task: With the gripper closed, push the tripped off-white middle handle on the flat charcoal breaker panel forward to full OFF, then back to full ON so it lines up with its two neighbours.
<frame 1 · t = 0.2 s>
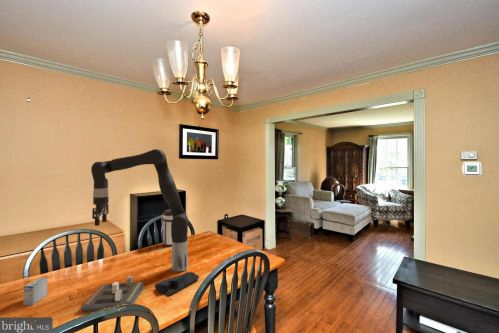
hand: (100, 223, 132), 29 cm above the table, tool pointing down, fingers open, 8 cm apart
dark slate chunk: (177, 284, 122), on the table
tripped handle: (115, 287, 107), point 5 cm above the table, slide at 0.0 cm
coffee press: (173, 244, 182), on the table
medicine box: (35, 300, 106), on the table
breaker panel: (115, 298, 108), on the table
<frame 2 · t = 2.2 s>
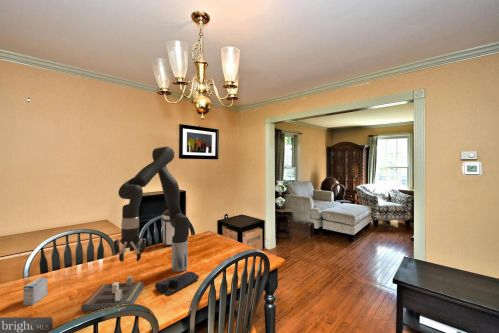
hand: (130, 260, 108), 18 cm above the table, tool pointing down, fingers open, 6 cm apart
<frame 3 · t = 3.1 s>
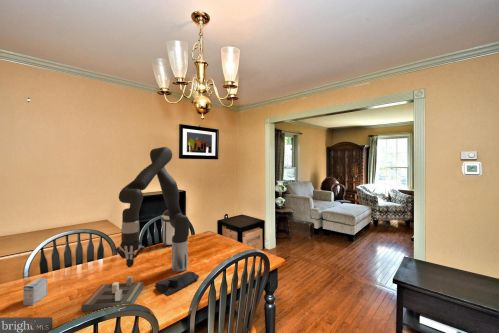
hand: (129, 266, 108), 15 cm above the table, tool pointing down, fingers closed
nothing on the table moved.
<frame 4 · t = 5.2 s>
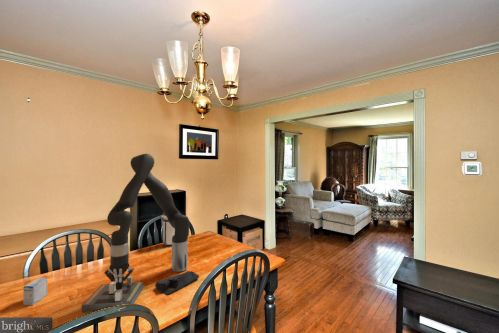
hand: (119, 289, 108), 5 cm above the table, tool pointing down, fingers closed
tripped handle: (112, 287, 107), point 5 cm above the table, slide at 1.4 cm, touching gripper
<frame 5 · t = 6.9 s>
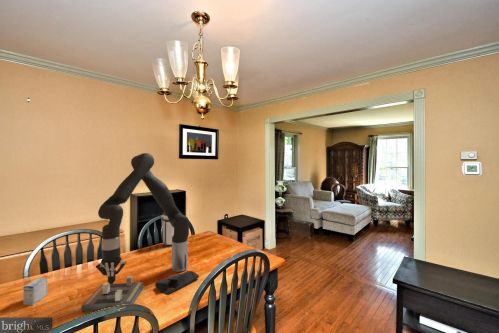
hand: (111, 283, 107), 8 cm above the table, tool pointing down, fingers closed
tripped handle: (106, 288, 107), point 5 cm above the table, slide at 4.1 cm
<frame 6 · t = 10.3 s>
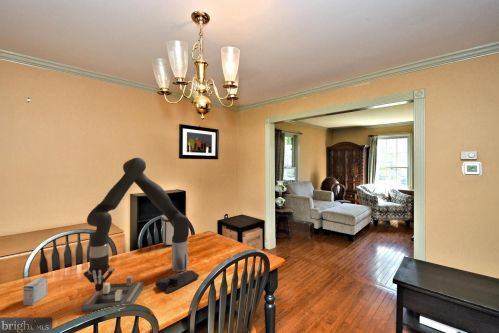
hand: (99, 290, 107), 4 cm above the table, tool pointing down, fingers closed
tripped handle: (106, 288, 107), point 5 cm above the table, slide at 3.9 cm, touching gripper
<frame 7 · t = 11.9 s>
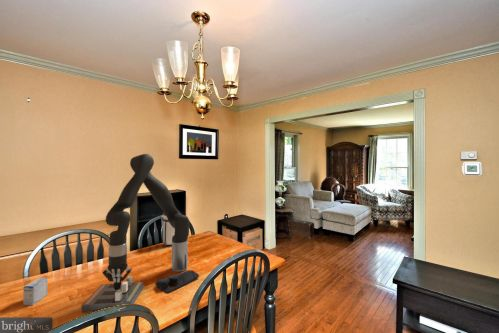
hand: (117, 289, 108), 4 cm above the table, tool pointing down, fingers closed
tripped handle: (124, 287, 108), point 5 cm above the table, slide at -4.1 cm, touching gripper
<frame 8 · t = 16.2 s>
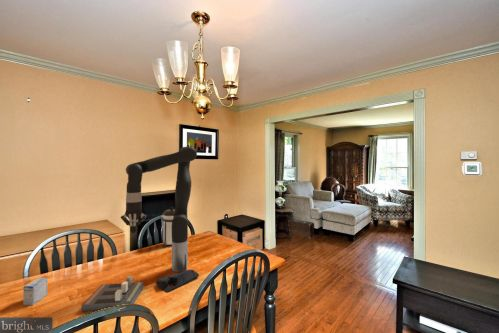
hand: (133, 232, 122), 27 cm above the table, tool pointing down, fingers closed
tripped handle: (124, 287, 108), point 5 cm above the table, slide at -4.1 cm
at the end: tripped handle slide at -4.1 cm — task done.
